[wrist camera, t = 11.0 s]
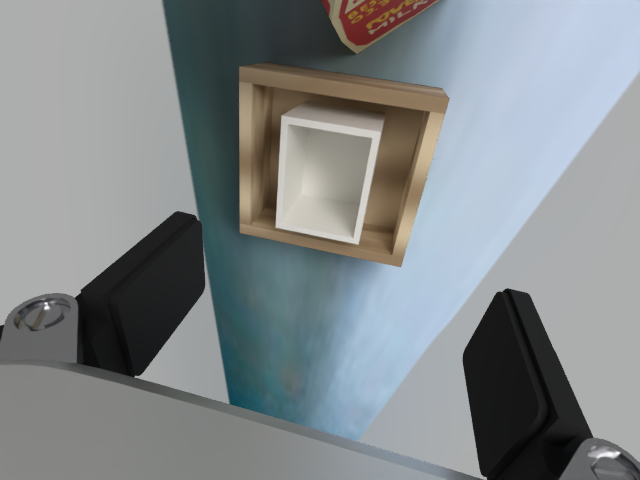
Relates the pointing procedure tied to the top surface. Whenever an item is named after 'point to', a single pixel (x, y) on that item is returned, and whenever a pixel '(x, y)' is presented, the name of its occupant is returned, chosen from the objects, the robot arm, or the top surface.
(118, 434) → the robot arm
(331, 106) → the cream crate
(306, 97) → the pine crate
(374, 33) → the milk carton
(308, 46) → the top surface
